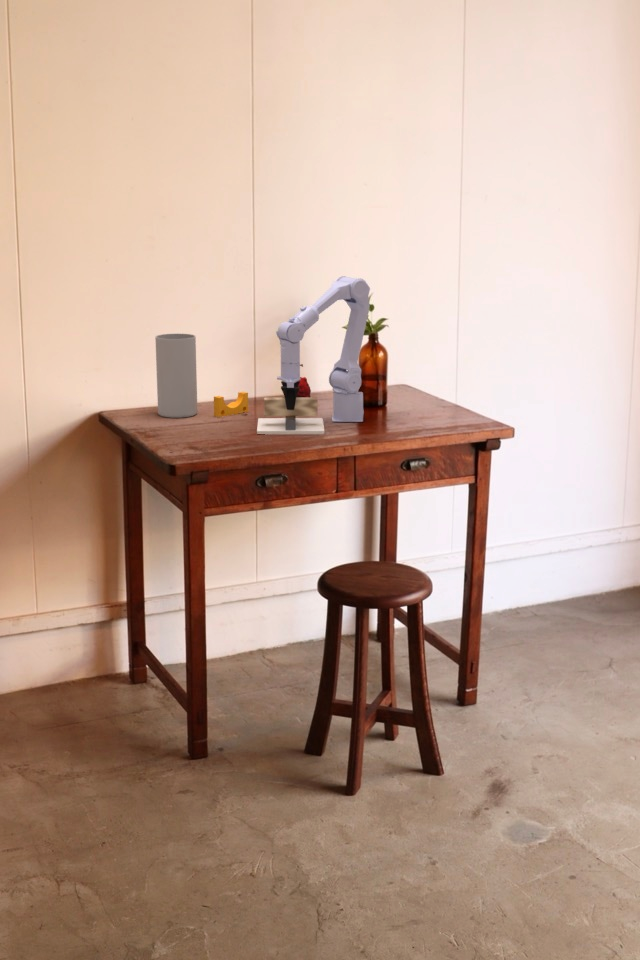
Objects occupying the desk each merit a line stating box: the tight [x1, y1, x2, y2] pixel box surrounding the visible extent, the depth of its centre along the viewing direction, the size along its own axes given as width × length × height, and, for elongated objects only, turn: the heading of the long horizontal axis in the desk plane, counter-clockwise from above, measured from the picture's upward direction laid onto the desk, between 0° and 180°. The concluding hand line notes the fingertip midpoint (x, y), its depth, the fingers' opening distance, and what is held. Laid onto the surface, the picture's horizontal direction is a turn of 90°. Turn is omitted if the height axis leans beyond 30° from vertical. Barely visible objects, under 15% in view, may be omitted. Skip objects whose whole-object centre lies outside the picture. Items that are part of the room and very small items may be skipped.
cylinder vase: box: [155, 333, 198, 419], centre depth 366 cm, size 12×12×25 cm
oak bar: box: [263, 396, 319, 417], centre depth 350 cm, size 16×4×5 cm, turn 92°
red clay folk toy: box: [297, 363, 312, 397], centre depth 386 cm, size 8×7×15 cm
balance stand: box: [256, 416, 325, 435], centre depth 351 cm, size 20×18×4 cm
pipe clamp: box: [213, 391, 249, 418], centre depth 370 cm, size 12×4×6 cm, turn 134°
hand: (290, 407), depth 350 cm, fingers open, 7 cm apart
